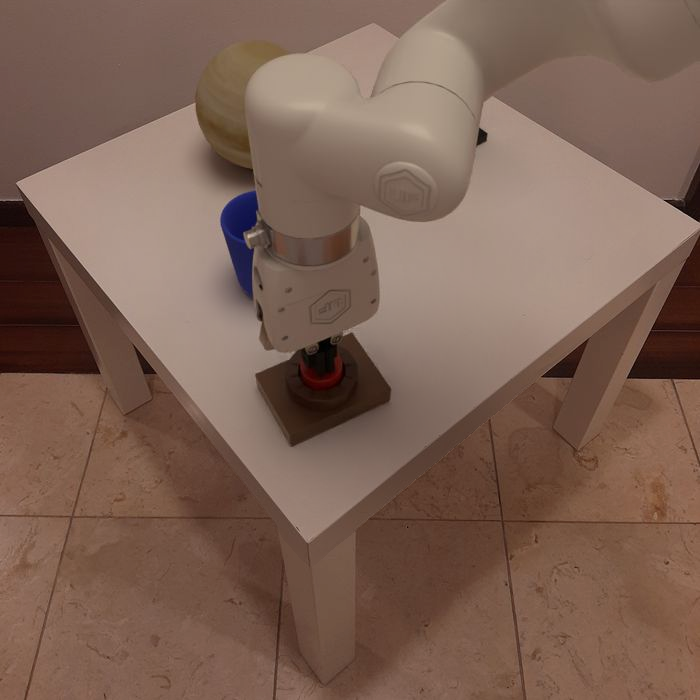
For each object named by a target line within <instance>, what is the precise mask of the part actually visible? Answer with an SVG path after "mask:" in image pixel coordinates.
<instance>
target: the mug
mask: <svg viewBox="0 0 700 700" xmlns="http://www.w3.org/2000/svg"><path fill="white" fill-rule="evenodd" d="M257 210H259V208H258V201H257V194H256V189H255V190H250V191H247V192H243V193H241V194H239V195H237V196H235V197H233V198H232V199H231V200H229V201H228V203H227V204H226V205H225V206H224V208H223V209H222V211H221V214H220V218H219V220H220V221H219V222H220V228H221V230H222V231H221V232H222V234H223V237H224V240H225V243H226V247H227V250H228V253H229V257H230V260H231V263H232V266H233V270H234V272H235V277H236V279H237V282H238V284H239V286H240V287H241V290H243V292H245V294H247V295H249V296H250V297H252V298H253V285H252V267H253V255H254V248H252V249H249V247H248V246H247V244H246V242H245V239H244V234H243V233H244V232H246V231H248V230H251V229H252V227H254V226H255V225H256V223H257V213H256V211H257Z"/></svg>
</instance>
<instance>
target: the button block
mask: <svg viewBox="0 0 700 700" xmlns="http://www.w3.org/2000/svg"><path fill="white" fill-rule="evenodd" d="M337 354H338V355H339V356H340V358H341V360H342V374H343V375H342V379H341V381H340V383H339V384H338V385H337V386H335V387H333V388H331V389H329V390H313V389H311V388H309V387H307V386H306V385H305V384H304V383H303V381H302V377H301V368H300V364H301V360H302V357H301V349H300V350H297V351H294V353H293V355H292V356H291V357H290V358H289V359H287V360H285V361H282V362H279V363H278V364H275V365H273V366H270V367H268V368H266V369H264V370H261V371H259V372H256V373H255V374H254V377H255V382H256V387H257V389H258V390H259V392H260V395H261V397H262V398H263V400H264V401H265V403H266V405H267V406H268V408H269V411H270V412H271V414H272V415H273V418H275V421H276V423H277V425H278V426H279V428H280V429H281V431H282V433H283V435H284V437H285V438H286V440H287V442H288V444H289V446H290V447H295V446H296V445H299V444H301V443H303V442H305V441H307V440H309V439H311V438H313V437H316V436H318V435H320V434H322V433H325V432H326V431H329V430H330V429H332V428H336V427H337V426H339V425H342V424H344V423H346V422H348V421H350V420H353V419H354V418H356V417H358V416H361V415H363V414H365V413H367V412H369V411H372V410H373V409H375V408H377V407H380V406H381V405H384V404H386V403H389V402H391V395H392V388H391V386H390V385H389V383H388V382H387V380H386V379H385V377H384V376H383V375H382V373H381V372H380V370H379V368H378V367H377V366H376V365H375V363H374V362H373V360H372V359H371V357H370V356H369V355H368V353H367V352H366V350H365V349H364V348H363V346H362V344H361V343H360V342H359V340H358V339H357V337H356V335H355V334H354V333H353V332H349V333H347V334H345V335H343V337H342V340H341V341H340V342H339V343H337Z"/></svg>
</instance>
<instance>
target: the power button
mask: <svg viewBox="0 0 700 700" xmlns="http://www.w3.org/2000/svg"><path fill="white" fill-rule="evenodd" d="M334 363H335V371H334V372H332V373H327V372H326V374H325V376H323V377H321V378H319V377H318V375H317V374H316V372H315V371H314V369H313V367H312V368H310V369H308V368H307V367H306V365H305V364H304V362H303V360H301V364H300V368H301V377H302V381H303V383H304V384H305V385H306V386H307V387H309V388H311V389H313V390H329V389H331V388H333V387H335V386H337V385H338V384H339V383H340V381H341V379H342V375H343V374H342V360H341V358H340V356H339V355H338V354H337V357H335V358H334Z"/></svg>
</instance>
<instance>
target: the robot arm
mask: <svg viewBox="0 0 700 700" xmlns="http://www.w3.org/2000/svg"><path fill="white" fill-rule="evenodd" d="M574 57H593V58H594V57H595V58H598V59H602V60H605V61H607V62H609V63H611V64H614V65H615V66H616V67H617V68H618V69H619V70H620V71H621V72H623V73H624V74H626V75H627V76H628V77H630V78H631V79H634V80H636V81H638V82H644V83H657V82H662V81H664V80H667V79H670V78H671V77H673V76H675V75H677V74H679V73H681V72H683V71H684V70H686V69H688V68H689V67H691V66H693V65H695V64H697V63H699V62H700V0H445V1H443V2H441V3H440V4H439V5H438V6H437V7H435V8H434V9H433V10H431V11H430V12H429V13H427V14H426V15H425V16H423V17H422V18H420V19H419V20H418V21H417V22H416V23H414V24H413V25H412V26H411V27H410V28H409V29H408V30H406V31H405V32H404V34H402V35H401V36H400V37H399V39H397V40H396V42H395V43H394V44H393V45H392V47H391V48H390V49H389V51H388V52H387V54H386V55H385V57H384V59H383V60H382V63H381V65H380V68H379V71H378V72H377V75H376V79H375V82H374V84H373V87H372V91H371V94H370V97H369V98H366V97H363V96H362V94H361V90H360V87H359V82H358V80H357V79H356V77H355V75H354V74H353V72H351V71H350V69H349V68H348V67H347V66H346V65H344V64H343V63H341V62H340V61H338V60H336V59H333V58H332V57H329V56H326V55H322V54H318V53H308V52H297V53H292V54H289V55H285V56H281V57H278V58H275V59H273V60H271V61H269V62H267V63H266V64H264V65H262V66H261V67H260V68H259V69H257V70H256V72H255V73H254V74H253V75H252V77H251V78H250V80H249V82H248V84H247V87H246V92H245V98H244V100H245V114H246V121H247V128H248V136H249V143H250V150H251V157H252V165H253V169H252V172H253V178H254V185H255V190H256V194H257V201H258V208H259V210H257V211H256V213H257V223H256V225H255V226H254V227H252V229H251V230H248V231H246V232H244V233H243V234H244V239H245V242H246V244H247V246H248V247H249V249H252V248H254V255H253V267H252V285H253V297H252V300H253V307H254V313H255V317H256V319H257V320H258V321H259V322H261V324H260V331H259V336H258V341H259V342H260V343H261V346H262V347H263V349H264V350H265V351H274V350H275V351H276V352H278V353H282V354H288V353H293V352H296V351H297V350H300V349H301V357H302V360H303V362H304V364H305V365H306V367H307V368H308V369H310V368H312V367H313V369H314V371H315V372H316V374H317V375H318V377H319V378H321V377H323V376H325V374H326V372H327V373H332V372H334V371H335V363H334V358H335V357H337V343H339V342H340V341H341V340H342V337H343V336H344V332H346V331H347V330H350V329H352V328H354V327H356V326H358V325H361V324H363V323H365V322H367V321H368V320H370V319H371V318H372V317H374V316H375V315H376V314H377V312H378V311H379V307H380V301H381V300H380V299H381V288H380V273H379V265H378V259H377V253H376V248H375V243H374V238H373V235H372V231H371V227H370V225H369V223H368V222H367V221H366V220H365V219H364V217H362V216H361V207H364V208H367V209H369V210H371V211H374V212H377V213H379V214H382V215H384V216H387V217H391V218H395V219H397V220H402V221H406V222H412V223H429V222H435V221H439V220H440V219H443V218H446V217H447V216H449V215H451V214H452V213H454V211H456V210H457V208H459V206H460V205H461V204H462V202H463V201H464V199H465V197H466V195H467V193H468V190H469V187H470V184H471V178H472V174H473V169H474V168H473V167H474V163H475V157H476V156H475V155H476V149H477V146H476V144H477V138H478V132H479V127H480V125H481V119H482V112H483V107H484V103H485V102H487V101H488V100H489V99H491V98H492V97H494V96H495V95H496V94H498V93H500V92H501V91H503V90H505V89H506V88H508V87H510V86H511V85H512V84H514V83H515V82H517V81H519V80H520V79H522V78H523V77H526V76H527V75H529V74H531V73H532V72H534V71H536V70H538V69H540V68H542V67H545V66H546V65H549V64H551V63H554V62H558V61H560V60H563V59H568V58H574Z"/></svg>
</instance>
